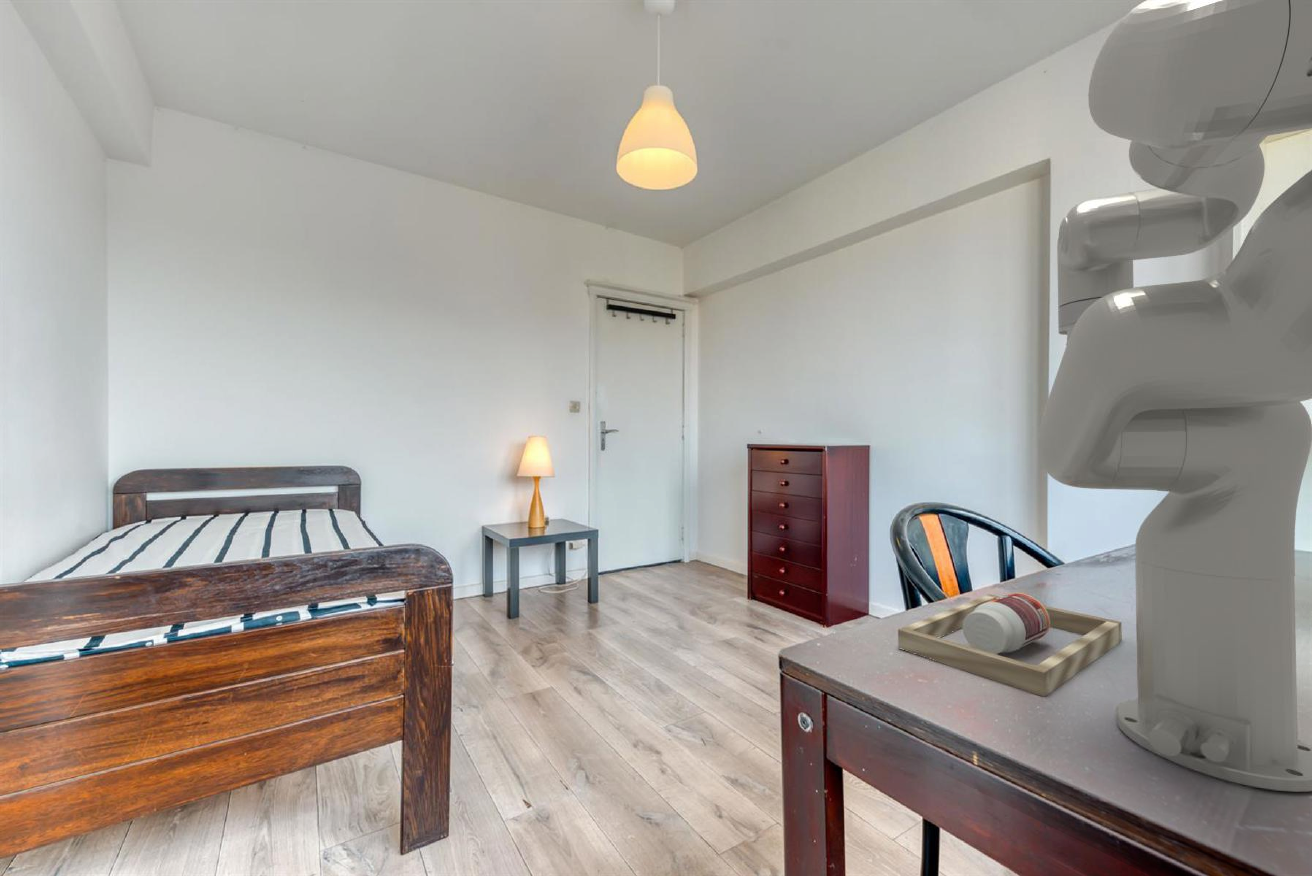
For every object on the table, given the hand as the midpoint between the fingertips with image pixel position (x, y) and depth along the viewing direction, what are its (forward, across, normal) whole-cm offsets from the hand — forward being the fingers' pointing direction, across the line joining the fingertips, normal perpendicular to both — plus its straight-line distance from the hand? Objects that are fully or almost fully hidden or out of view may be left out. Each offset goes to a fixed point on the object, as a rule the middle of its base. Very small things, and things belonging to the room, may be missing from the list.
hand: (1097, 460), depth 68 cm
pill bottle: (+21, -4, +7) cm, 22 cm away
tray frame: (+24, -8, +8) cm, 26 cm away
